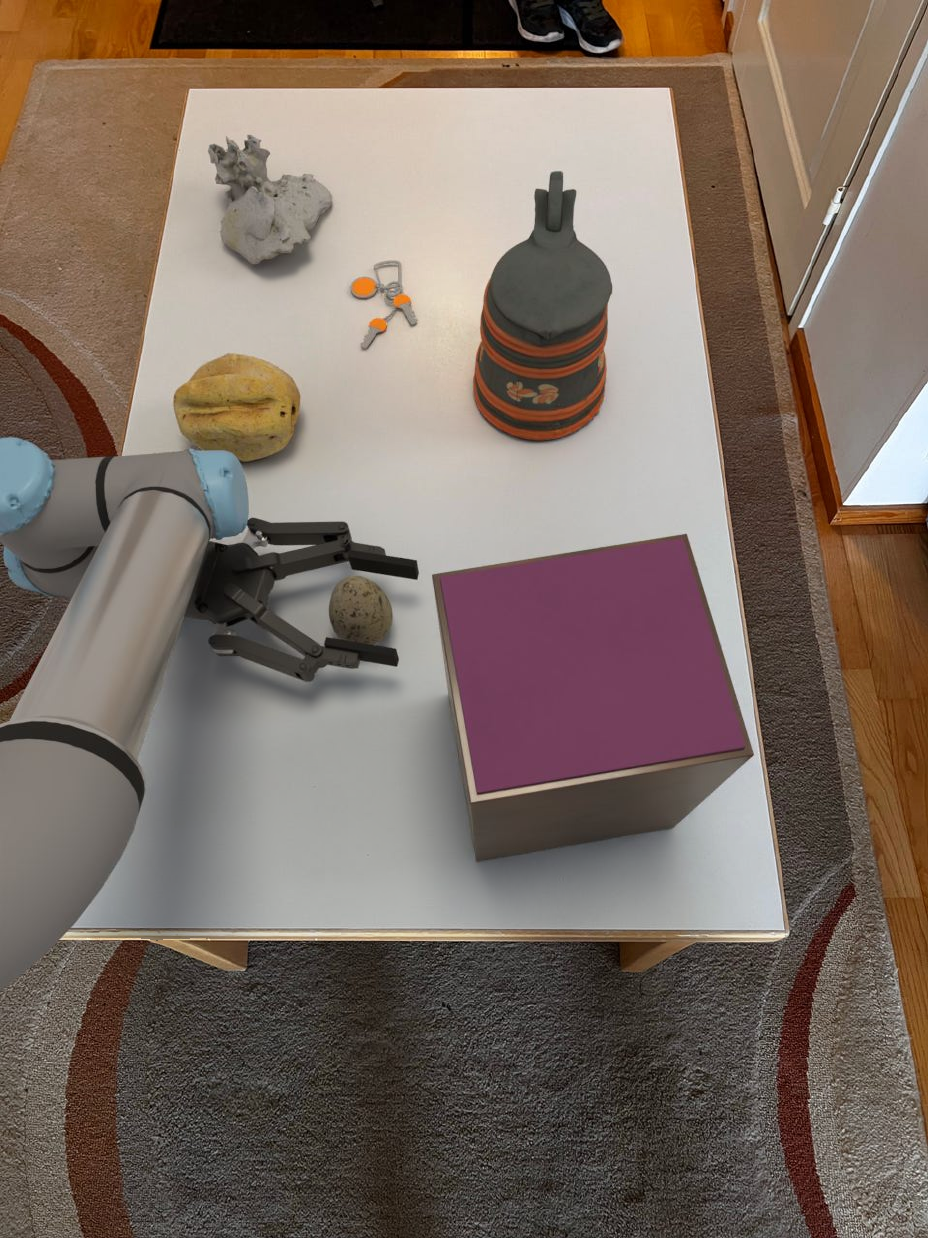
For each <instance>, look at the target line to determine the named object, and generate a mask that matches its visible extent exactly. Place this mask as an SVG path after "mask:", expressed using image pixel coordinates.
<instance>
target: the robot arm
mask: <svg viewBox="0 0 928 1238" xmlns="http://www.w3.org/2000/svg"><path fill="white" fill-rule="evenodd" d="M249 500H250V499H249V490H248V485H247V479H246V474H245V472H244V469H243V466H242V464H241V461H240V460H238V458H237V457H236V456H235V455H234V454H232V453H231V452H228V451H225V450H201V449H198V450H197V449H196V450H195V449H194V448H187V450H181V451H168V452H157V453H144V454H131V455H130V454H129V455H117V456H116V455H115V456H95V457H80V458H67V459H66V458H64V459H63V458H62V459H51V458H50V457H49V454H48V453H46V452H45V451H43V450H42V449H41V448H40V447H38V445H36V444H35V443H32V442H30V441H29V440H24V439H22V438H18V437H1V438H0V544H2V545H3V546H4V547H3V563H4V566H5V567H6V568H7V569H8V570H7V571H8V572H7V573H8V577H9V579H10V580H11V581H12V583H14V584H15V585H16V586H18V587H19V588H21V589H24V590H26V591H27V590H28V591H31V592H35V593H38V594H41V595H43V596H47V597H54V598H66V599H71V600H70V601H69V603H68V606H67V607H66V609H65V611H64V613H63V615H62V617H61V619H60V620H59V623H58V625H57V627H56V629H55V631H54V633H53V635H52V637H51V638H50V640H49V642H48V644H47V647H46V649H45V650H44V652H43V654H42V656H41V658H40V660H39V662H38V664H37V666H36V668H35V669H34V672H33V674H32V675H31V678H30V679H29V681H28V683H27V685H26V687H25V689H24V691H23V693H22V695H21V697H20V699H19V701H18V703H17V704H16V706H15V709H14V711H13V713H12V715H11V717H10V719H9V721H5V722H2V723H0V991H2V990H3V989H5V988H6V987H8V986H9V985H10V984H11V983H13V982H14V981H16V980H17V979H18V978H20V977H21V976H22V975H23V974H24V973H26V972H27V971H28V970H29V969H31V968H32V967H33V965H35V964H36V963H38V962H39V961H40V960H41V959H42V958H43V957H44V956H45V955H47V953H48V952H50V951H51V949H52V948H53V947H55V945H56V944H57V943H58V942H59V941H60V939H62V938H63V937H64V936H65V935H66V934H67V933H68V931H69V930H71V928H73V926H75V924H76V923H77V921H78V920H79V919H80V918H81V916H82V915H83V914H84V913H85V911H86V910H87V909H88V907H89V906H90V905H91V903H92V902H93V900H94V899H95V898H96V897H97V896H98V894H99V893H100V892H101V890H102V889H103V887H104V885H105V884H106V882H107V881H108V879H109V877H110V876H111V874H112V873H113V871H114V869H115V868H116V866H118V865H117V864H118V863H119V861H120V860H121V859H122V857H123V855H124V852H125V850H126V848H127V846H128V843H129V842H130V841H131V838H132V835H133V833H134V830H135V826H136V823H137V821H138V818H139V814H140V811H141V809H142V805H143V801H144V797H145V794H146V789H147V788H146V787H147V786H146V785H147V782H146V776H145V773H144V770H143V768H142V766H141V763H139V761H138V759H139V756H140V753H141V749H142V746H143V743H144V742H145V741H144V740H145V738H146V735H147V731H148V728H149V725H150V722H151V719H152V716H153V713H154V709H155V706H156V704H157V702H158V701H157V700H158V698H159V696H160V695H159V694H160V692H161V690H162V689H161V688H162V686H163V682H164V678H165V677H166V673H167V670H168V667H169V664H170V662H171V658H172V656H173V655H172V654H173V651H174V648H175V645H176V642H177V640H178V637H179V634H180V630H181V628H182V624H183V621H184V618H188V619H195V620H198V621H199V620H201V621H209V622H211V624H214V627H213V628H214V630H213V634H212V635H210V636H209V637H208V640H207V643H208V645H209V647H210V648H211V649H212V651H214V653H215V654H216V655H217V656H219V657H231V658H232V657H235V658H236V657H237V658H240V659H241V658H242V659H245V660H247V661H250V662H252V663H255V664H257V665H260V666H263V667H265V668H268V669H271V670H274V671H277V672H279V673H281V674H284V675H287V676H288V677H289V676H290V677H292V678H294V679H297V680H300V681H302V682H305V683H309V682H310V683H311V682H313V680H315V677H316V673H317V672H318V670H319V669H323V668H325V667H327V666H332V667H338V668H345V669H349V670H350V669H351V670H355V669H359V667H360V663H361V662H367V663H371V664H372V663H373V664H379V665H385V666H390V667H397V668H398V666H399V662H400V658H399V655H398V649H397V648H396V647H395V648H394V647H389V646H383V645H378V644H375V645H371V644H365V643H359V642H353V641H347V640H341V639H340V638H335V637H329V636H326V637H325V639H324V643H323V645H321V644H320V643H318V642H317V641H315V640H314V639H313V638H311V637H310V636H308V635H307V634H305V633H304V632H302V631H301V630H299V629H298V628H296V627H295V626H294V625H292V624H290V623H289V622H287V621H286V620H285V619H283V618H281V617H280V616H279V615H277V614H276V613H274V612H273V611H272V610H270V609H268V605H269V599H270V597H269V595H270V593H271V592H272V590H273V588H274V586H275V582H278V581H281V580H285V579H286V578H287V577H288V576H293V575H298V574H301V573H305V572H309V571H313V570H319V569H322V568H326V567H331V566H336V565H339V564H344V563H349V565H350V569H351V570H352V571H357V572H364V573H371V574H375V575H376V574H378V575H383V576H390V577H394V578H395V577H396V578H402V579H408V580H416V581H418V579H419V576H420V571H419V564H418V560H417V559H411V558H404V557H398V556H392V555H387V553H386V549H385V548H384V547H382V546H379V545H372V544H367V543H361V542H355V541H353V540H352V539H353V536H352V533H351V531H350V530H351V529H350V527H349V523H347V522H345V521H296V522H295V521H293V522H292V521H291V522H290V521H289V522H288V521H287V522H270V521H267V520H263V519H261V518H257V517H250V518H249V515H250V514H249V513H250V501H249ZM246 528H248V529H247V532H246V533H245V535H244V538H242V541H241V542H236V543H233V544H224V543H221V542H217V541H221V540H222V539H224V538H230V537H231V538H232V537H237V536H239V535H240V534H243V533H244V531H245V530H246ZM211 539H212V540H211ZM213 539H214V540H216V541H213ZM268 545H271V546H282V547H283V546H304V547H301V548H297V549H293V550H288V551H285V552H275V551H273V552H267V553H264V554H258V553H257V551H256V550H255V549H256V548H259V547H261V548H267V546H268ZM305 546H306V547H305ZM247 620H250V621H251V622H252V623H254V624H255V625H257V626H258V627H260V628H261V629H263V630H266V631H267V632H269V633H270V634H271V635H273V636H275V637H276V638H278V639H279V640H281V642H283V643H284V644H286V645H287V646H289V647H290V648H292V649H294V650H295V651H296V652H298V653H299V654H301V655H302V656H303V657H304V658H303V659H302V658H300V657H297V656H294V655H292V654H289V653H286V652H284V651H282V650H278V649H275V648H273V647H270V646H267V645H264V644H262V643H259V642H256V641H254V640H251V639H248V638H245V637H243V636H240V635H238V634H237V633H236V632H235V631H234V630H233V629H229V628H231V627H233V626H236V625H238V624H240V623H243V622H245V621H247Z"/></svg>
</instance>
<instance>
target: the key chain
mask: <svg viewBox="0 0 928 1238" xmlns="http://www.w3.org/2000/svg"><path fill="white" fill-rule="evenodd" d="M388 264H389V265H390V264H396V265H397V269H398V270H397V281H395V280H394V281H390V282H389V283H387V284H386V285H385V283H382V282H381V278H380V276H379V272H378V267H380V266H383V265H388ZM373 271H374V272H375V275H376V278H377V281H378V282H377V281H376V280H375V279H374V278H372V277H371V276H360V277H357V278H355V279H353V281H352V282H351V284H350V286H349V288H350V293H351V294H352V295H353V296H354V297H356V298H358V299H362V300H363V299H369V298H371V297H374V296H375V294H376V293H377V291H378V289H381V290H383V293H384V294H383V299H384V301H385V302H387V304H393V306H392V307H393V308H392V311H390V313H389V314H388V315H387V316H385V317H383V318H379V317H377V318H373V319H371V320H370V321H369V324H368V328H369V329H368V330H367V333H366V334H365V335H364V336H363V337H364V338H363V339H362V341H361V342H360V347H361V348H362V349H368V347H369V346H370V344H371V343H372V342H373V340H374V338H375V337H376V335H377V334H379V333H384V331H386V330H387V326H388V324H387V322H386V321H387V320H388V319H390V318H391V317H392V316H393V315H394V314H395V311H396V309H400V310H402V311H403V313H404V315H405V317H406V319H407V320H408V322H409V324H410V325H411V326H415V325H416V324H417V323H418V318H415V317H416V315H415V311H413V310H412V306H411V304H412V299H411V297H410V296H409V295H407V294H404V293H402V292H403V284H402V262H401V261H400V260H383V261H380V262H377V263H375V264H373ZM397 288H399V290H398V291H397V290H395V289H397ZM390 293H393V294H390ZM401 293H402V294H401ZM387 297H388V298H393V300H389V299H388V298H387Z"/></svg>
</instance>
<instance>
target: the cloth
mask: <svg viewBox="0 0 928 1238" xmlns="http://www.w3.org/2000/svg"><path fill="white" fill-rule="evenodd" d="M440 582H441V588H442V593H443V599H444V605H445V611H446V617H447V623H448V628H449V634H450V640H451V646H452V652H453V658H454V663H455V669H456V675H457V681H458V687H459V693H460V698H461V704H462V710H463V716H464V722H465V728H466V733H467V739H468V745H469V751H470V757H471V763H472V769H473V774H474V780H475V786H476V792H477V794H481V793H487V792H493V791H499V790H504V789H510V788H516V787H522V786H528V785H534V784H540V783H545V782H551V781H557V780H563V779H569V778H575V777H581V776H586V775H592V774H598V773H604V772H610V771H616V770H622V769H628V768H633V767H639V766H645V765H651V764H657V763H663V762H669V761H674V760H680V759H686V758H692V757H698V756H704V755H710V754H715V753H721V752H727V751H733V750H739V749H744V748H745V747H746V745H745V742H744V738H743V735H742V732H741V729H740V725H739V722H738V719H737V715H736V712H735V709H734V705H733V702H732V699H731V695H730V692H729V689H728V686H727V682H726V679H725V676H724V672H723V669H722V666H721V662H720V659H719V656H718V652H717V649H716V646H715V642H714V639H713V636H712V633H711V629H710V626H709V623H708V619H707V616H706V613H705V609H704V606H703V603H702V599H701V596H700V593H699V590H698V586H697V583H696V580H695V576H694V573H693V570H692V566H691V563H690V560H689V556H688V553H687V550H686V547H685V543H684V540H683V538H680V539H674V540H668V541H661V542H655V543H649V544H643V545H636V546H630V547H624V548H618V549H611V550H605V551H599V552H593V553H587V554H580V555H574V556H568V557H562V558H555V559H549V560H543V561H537V562H530V563H524V564H518V565H512V566H505V567H499V568H493V569H487V570H480V571H474V572H468V573H462V574H455V575H449V576H443V577H440Z"/></svg>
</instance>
